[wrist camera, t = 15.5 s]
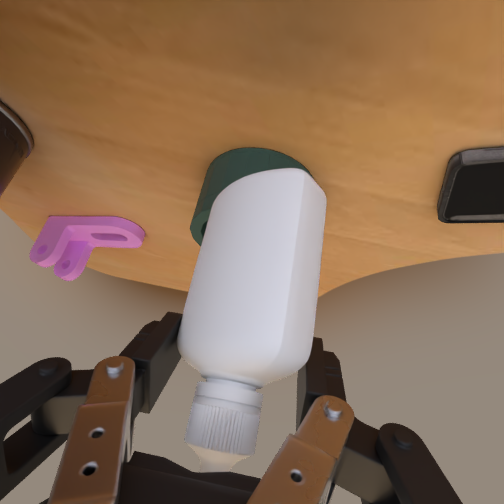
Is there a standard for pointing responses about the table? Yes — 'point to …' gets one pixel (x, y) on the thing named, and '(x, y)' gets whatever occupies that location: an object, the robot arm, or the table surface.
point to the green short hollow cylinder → (234, 178)
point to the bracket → (81, 241)
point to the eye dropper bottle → (250, 306)
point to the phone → (473, 188)
